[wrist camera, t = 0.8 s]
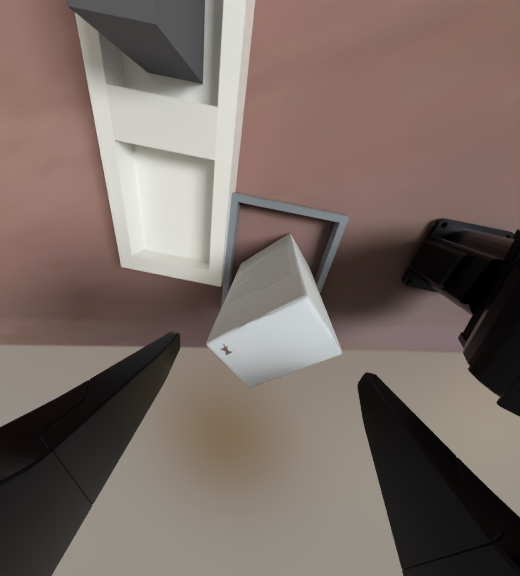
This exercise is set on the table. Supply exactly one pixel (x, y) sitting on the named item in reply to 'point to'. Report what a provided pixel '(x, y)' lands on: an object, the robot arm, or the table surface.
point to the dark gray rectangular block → (152, 32)
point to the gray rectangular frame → (240, 198)
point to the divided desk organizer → (172, 146)
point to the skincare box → (273, 317)
